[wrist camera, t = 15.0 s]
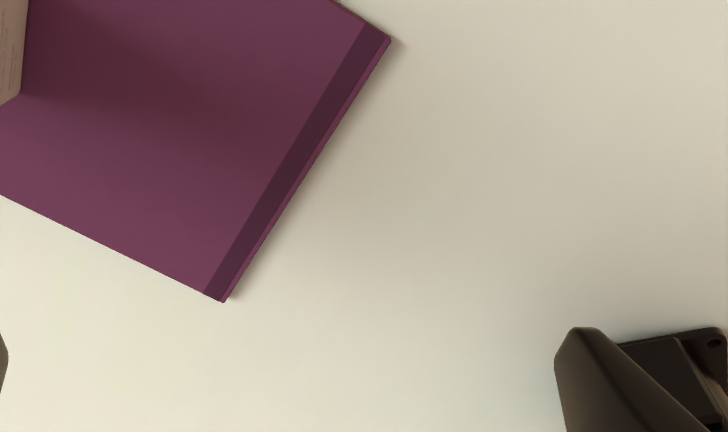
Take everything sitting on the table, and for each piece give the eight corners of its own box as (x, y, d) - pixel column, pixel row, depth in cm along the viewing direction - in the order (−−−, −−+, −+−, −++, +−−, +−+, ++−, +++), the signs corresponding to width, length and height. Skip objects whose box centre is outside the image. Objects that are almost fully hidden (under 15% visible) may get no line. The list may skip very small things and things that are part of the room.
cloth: (392, 37, 18) (391, 41, 18) (226, 297, 25) (223, 304, 24) (-212, -355, 14) (-228, -361, 14) (-230, 74, 20) (-242, 78, 20)
